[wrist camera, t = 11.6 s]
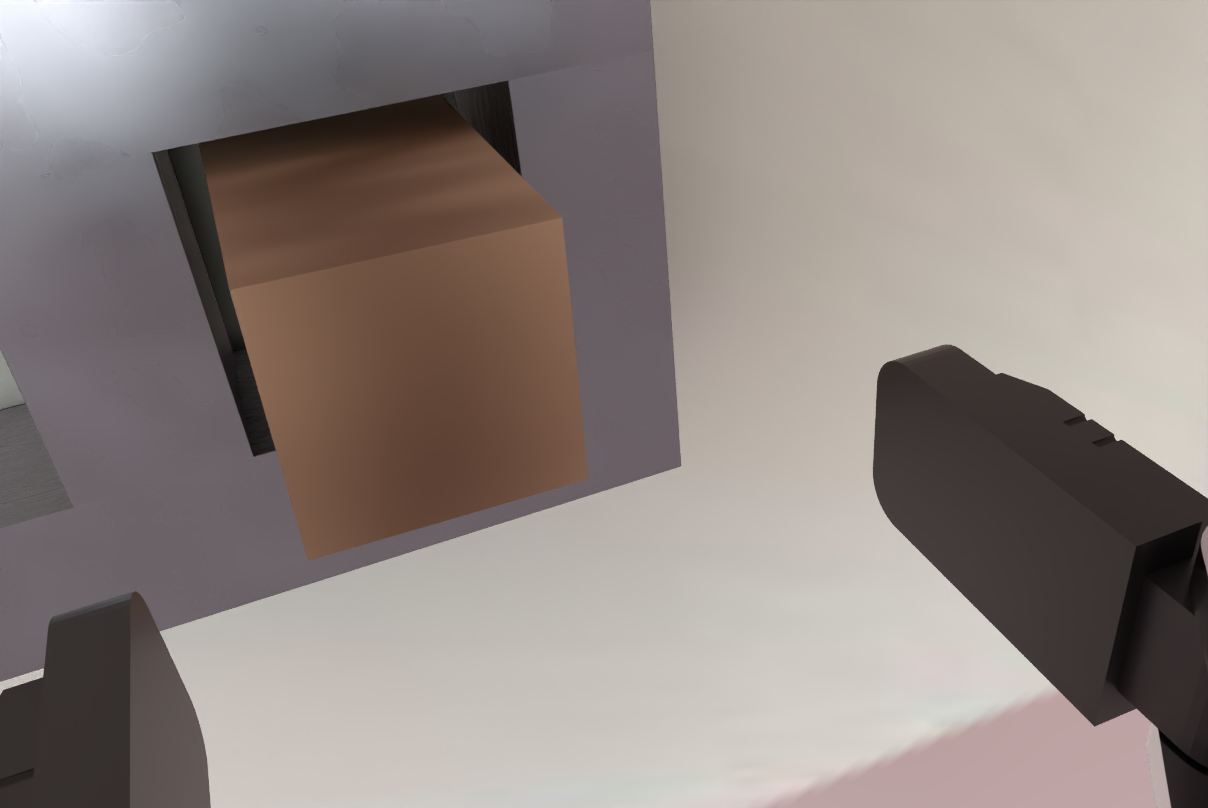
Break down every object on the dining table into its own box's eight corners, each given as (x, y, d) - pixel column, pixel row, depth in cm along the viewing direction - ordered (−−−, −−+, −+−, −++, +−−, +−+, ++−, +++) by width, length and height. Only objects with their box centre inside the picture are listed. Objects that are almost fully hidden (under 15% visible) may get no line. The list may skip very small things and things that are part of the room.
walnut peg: (417, 71, 19) (562, 217, 13) (449, 269, 22) (588, 479, 15) (191, 110, 18) (229, 290, 12) (249, 315, 20) (307, 560, 14)
